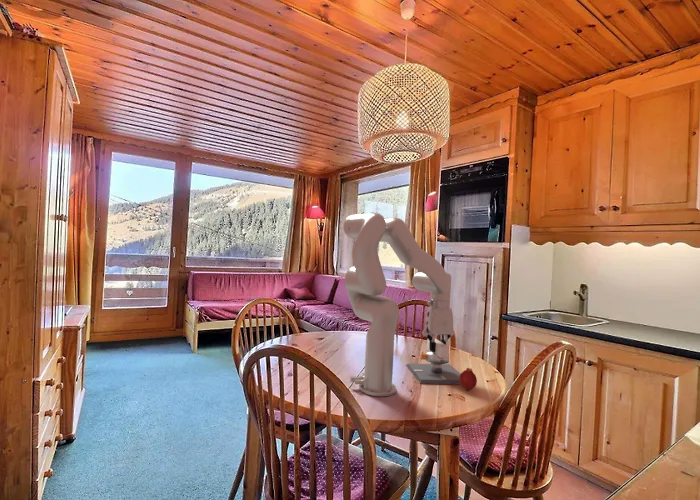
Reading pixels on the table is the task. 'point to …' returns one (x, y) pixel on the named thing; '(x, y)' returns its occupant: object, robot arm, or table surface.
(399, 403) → the table surface
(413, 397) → the table surface
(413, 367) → the base
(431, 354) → the cap
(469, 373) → the onion
